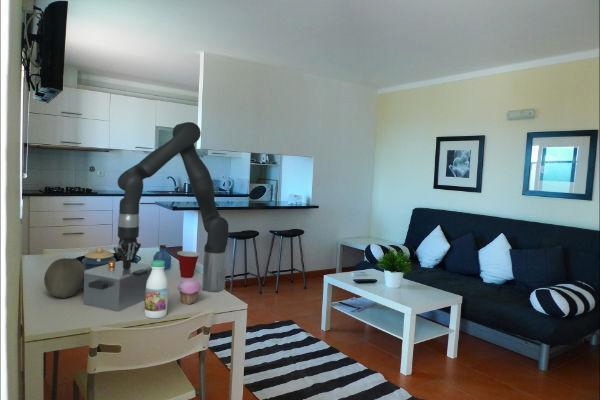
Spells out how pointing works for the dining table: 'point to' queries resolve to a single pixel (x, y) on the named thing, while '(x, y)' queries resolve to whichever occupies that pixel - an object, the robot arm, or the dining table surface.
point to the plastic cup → (187, 263)
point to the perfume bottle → (163, 256)
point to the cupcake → (189, 290)
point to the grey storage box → (114, 291)
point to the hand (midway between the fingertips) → (126, 269)
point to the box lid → (119, 270)
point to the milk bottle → (156, 291)
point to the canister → (97, 259)
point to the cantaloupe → (64, 277)
